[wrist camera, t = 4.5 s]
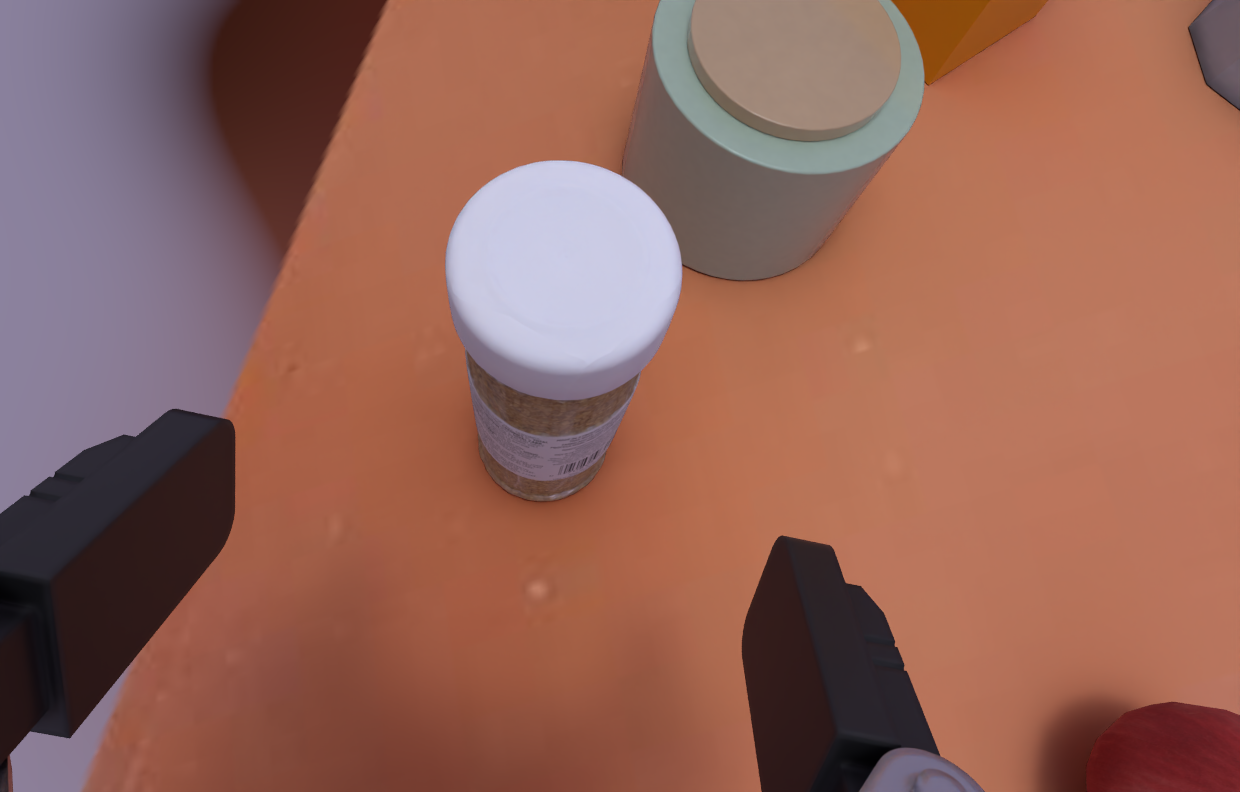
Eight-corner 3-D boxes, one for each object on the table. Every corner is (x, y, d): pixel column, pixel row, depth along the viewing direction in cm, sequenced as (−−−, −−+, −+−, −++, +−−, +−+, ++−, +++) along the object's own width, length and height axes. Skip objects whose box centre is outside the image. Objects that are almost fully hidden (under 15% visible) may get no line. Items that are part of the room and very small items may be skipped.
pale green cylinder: (588, 229, 30) (613, 91, 23) (664, 58, 33) (707, -111, 26) (805, 315, 30) (900, 205, 23) (861, 136, 33) (960, -11, 26)
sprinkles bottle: (575, 361, 28) (625, 122, 16) (628, 474, 27) (729, 317, 14) (455, 407, 27) (405, 191, 14) (506, 528, 26) (500, 407, 13)
